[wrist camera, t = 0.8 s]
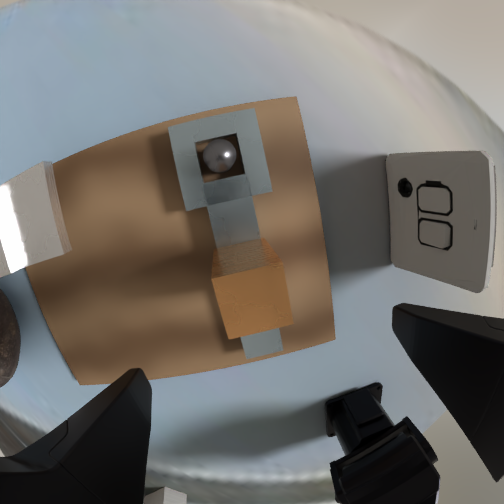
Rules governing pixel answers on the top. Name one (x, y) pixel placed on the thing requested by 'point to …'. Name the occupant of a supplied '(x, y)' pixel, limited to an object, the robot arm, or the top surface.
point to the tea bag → (165, 497)
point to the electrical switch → (443, 215)
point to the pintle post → (219, 155)
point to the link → (236, 230)
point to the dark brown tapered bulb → (8, 340)
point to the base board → (174, 254)
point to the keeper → (31, 220)
